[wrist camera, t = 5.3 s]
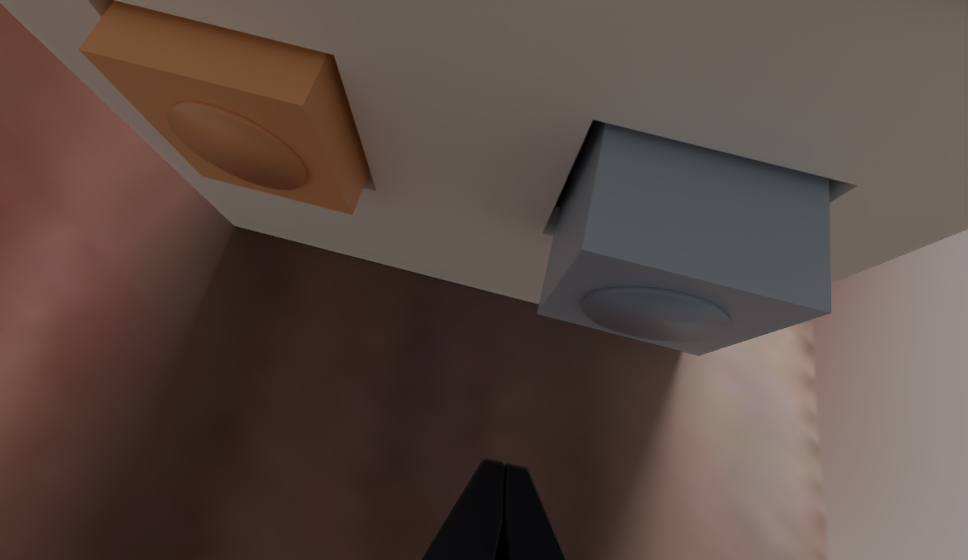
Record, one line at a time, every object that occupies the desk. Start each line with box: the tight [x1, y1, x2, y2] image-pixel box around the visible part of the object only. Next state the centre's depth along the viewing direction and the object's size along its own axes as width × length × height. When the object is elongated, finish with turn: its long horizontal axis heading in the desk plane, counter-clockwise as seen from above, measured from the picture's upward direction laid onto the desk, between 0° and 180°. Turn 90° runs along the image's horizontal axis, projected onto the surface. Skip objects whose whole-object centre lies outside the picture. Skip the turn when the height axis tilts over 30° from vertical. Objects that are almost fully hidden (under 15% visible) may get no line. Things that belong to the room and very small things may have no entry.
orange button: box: [79, 0, 370, 215], centre depth 11 cm, size 4×4×4 cm
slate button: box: [537, 120, 831, 356], centre depth 10 cm, size 4×4×4 cm
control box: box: [0, 0, 968, 304], centre depth 13 cm, size 8×20×16 cm, turn 76°
